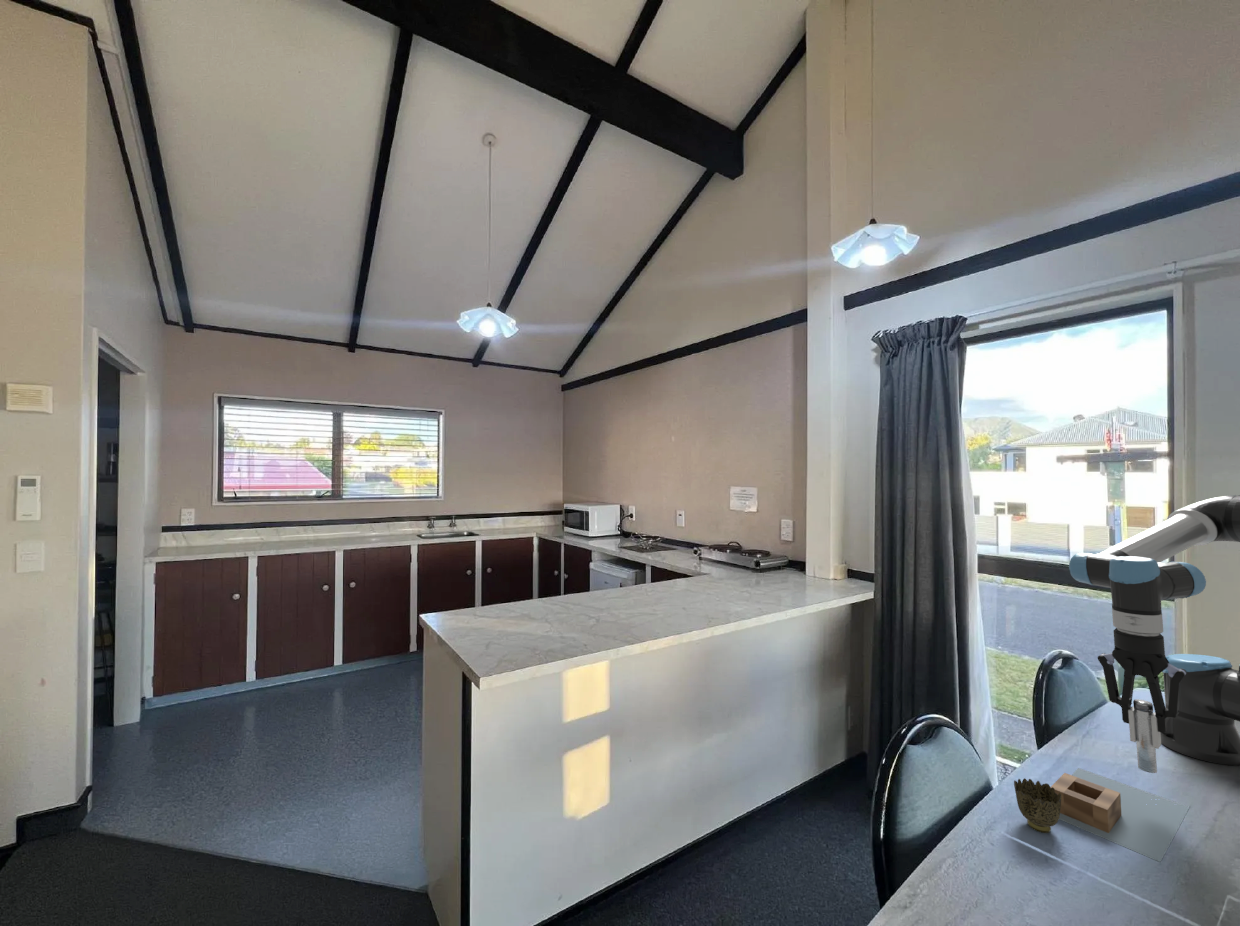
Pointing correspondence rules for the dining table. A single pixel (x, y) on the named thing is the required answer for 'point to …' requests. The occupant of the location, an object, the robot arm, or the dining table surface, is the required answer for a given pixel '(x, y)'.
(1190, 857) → the dining table surface
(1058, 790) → the wooden block with hole
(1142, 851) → the mat
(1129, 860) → the dining table surface
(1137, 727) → the metal cylinder rod
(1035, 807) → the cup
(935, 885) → the dining table surface
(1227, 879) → the dining table surface
